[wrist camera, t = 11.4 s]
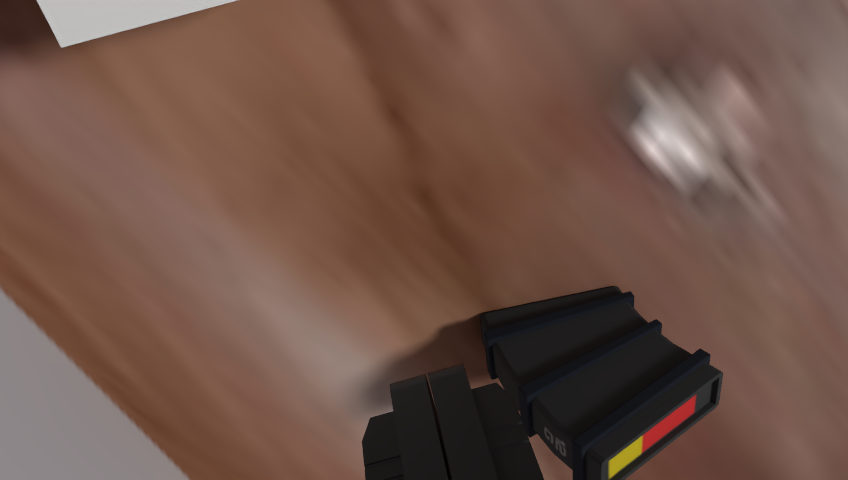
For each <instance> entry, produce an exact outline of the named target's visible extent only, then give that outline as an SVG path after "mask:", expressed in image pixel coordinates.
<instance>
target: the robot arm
mask: <svg viewBox="0 0 848 480" xmlns="http://www.w3.org/2000/svg"><path fill="white" fill-rule="evenodd" d="M428 376H429V380H430V384H431V389H432V393H433V397H434V401H433V397H432V394H431V391H430V387H429V384H428V381H427V378H426V375H425V374H424V375H421V376H417V377H414V378H410V379H406V380H403V381H399V382H396V383H392V384H390V391H391V398H392V404H393V410H394V411H393V412H389V413H386V414H382V415H379V416H375V417H371V418H370V420H369V423H368V426H367V429H366V432H365V434H364V437H363V440H362V447H363V457H364V466H365V478H366V480H544V478H543V475H542V473H541V470H540V467H539V465H538V462H537V459H536V457H535V454H534V451H533V449H532V446H531V443H530V441H529V438H528V435H527V433H526V430H525V427H524V425H523V422H522V419H521V417H520V414H519V411H518V409H517V406H516V403H515V401H514V398H512V397H511V396H510V395H509V394H508V393H507V392H506V391H505V390H504V389H503V388H502V387H501V386H500V385H498V384H497V383H493V384H489V385H486V386H482V387H478V388H475V389H471V388H470V385H469V381H468V378H467V375H466V371H465V368H464V365H463V364H460V365H456V366H453V367H449V368H445V369H442V370H438V371H435V372H431V373H428ZM434 402H435V404H434ZM435 406H436V407H435Z"/></svg>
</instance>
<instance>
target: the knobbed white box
mask: <svg viewBox="0 0 848 480" xmlns="http://www.w3.org/2000/svg"><path fill="white" fill-rule="evenodd" d="M233 1H237V0H37V2H38V4H39V6H40V8H41V10H42V12H43V14H44V15H45V17H46V19H47V21H48V23H49V25H50V27H51V29H52V31H53V33H54V35H55V37H56V38H57V40H58V42H59V44H60V46H61V48H62V47H66V46H69V45H73V44H77V43H81V42H84V41H88V40H92V39H95V38H99V37H103V36H107V35H110V34H114V33H118V32H121V31H125V30H129V29H133V28H136V27H140V26H144V25H147V24H151V23H155V22H159V21H162V20H166V19H170V18H173V17H177V16H181V15H185V14H188V13H192V12H196V11H199V10H203V9H207V8H211V7H214V6H218V5H222V4H225V3H229V2H233Z"/></svg>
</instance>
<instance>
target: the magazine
mask: <svg viewBox="0 0 848 480" xmlns="http://www.w3.org/2000/svg"><path fill="white" fill-rule="evenodd" d="M480 321H481V330H482V339H483V344H484V346H485V350H486V359H487V367H488V372H489V374H490V376H491V379H496V378H499V380H500V382H501V384H502V386H503V388H504V390H505V391H506V392H507V393H508V394H509V395H510V396H511V397H512V398H514V401H515V403H516V406H517V409H518V410H519V411H520V415H521V419H522V422H523V425H524V427H525V430H526V433H527V435H528V436H529V437H532V436H534V435H535V434H538V435H539V436H540V438H541V439H542V440H543V441H544V442H545V444H546V445H547V446H548V447H549V449H550V450H551V451H552V452H553V453H554V454H555V455H556V456H557V457H558V458H559V459H560V460H562V461H563V462H564V463H565V464H566V465H567V466H568V467H570V468H571V469H572V470H573V480H625V479H626V478H627V477H628V476H630V475H631V474H632V473H633V472H635V471H636V470H637V469H639V468H640V467H641V466H642V465H644V464H645V463H646V462H647V461H649V460H650V459H651V458H652V457H654V456H655V455H656V454H658V453H659V452H660V451H661V450H663V449H664V448H665V447H666V446H668V445H669V444H670V443H671V442H673V441H674V440H675V439H677V438H678V437H679V436H680V435H682V434H683V433H684V432H685V431H687V430H688V429H689V428H690V427H692V426H693V425H694V424H696V423H697V422H698V421H699V420H701V419H702V418H703V417H704V416H706V415H707V414H708V413H709V412H711V411H712V410H713V409H715V408H716V407H717V405H718V403H719V399H720V392H721V384H722V377H723V373H722V372H721V371H719V370H718V369H716V368H714V367H713V366H711V365H709V363H710V354H709V353H707V352H705V351H703V350H702V349H699V350H698V351H696V352H695V353H693V354H690V353H689V352H687V351H685V350H684V349H682V348H680V347H678V346H677V345H675V344H673V343H672V342H671V341H669V340H668V339H667V338H666V337H664V336H663V335H662V334H661V330H662V323H661V322H659V321H658V320H657V319H656V320H654V321H652V322H649V323H648V322H647V321H646V320H645V319H644V318H643V317H642V316H641V315H640V314H639V313H638V312H637V311H636V310H635V309H634V295H633V294H632V292H626V293H622V292H621V291H620V289H619V288H618V287H617V286H612V287H607V288H602V289H598V290H593V291H588V292H583V293H578V294H573V295H569V296H564V297H559V298H554V299H549V300H544V301H540V302H535V303H530V304H525V305H520V306H515V307H511V308H506V309H501V310H496V311H491V312H486V313H483V314H481V317H480Z"/></svg>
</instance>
